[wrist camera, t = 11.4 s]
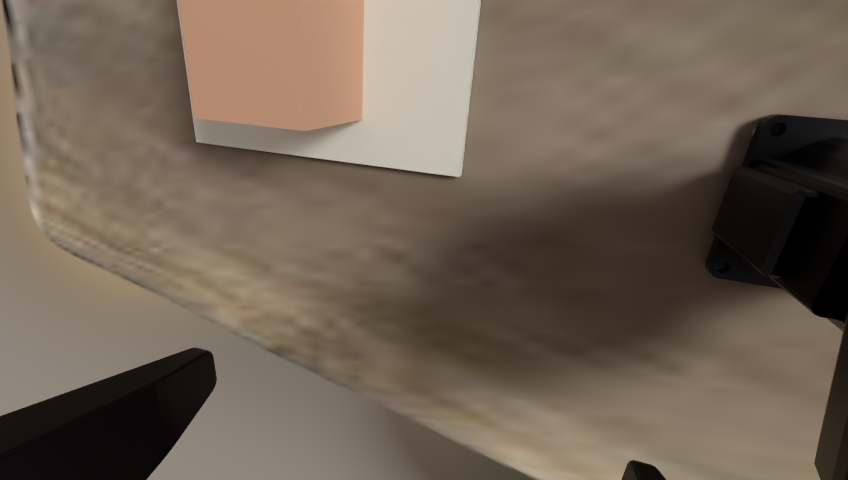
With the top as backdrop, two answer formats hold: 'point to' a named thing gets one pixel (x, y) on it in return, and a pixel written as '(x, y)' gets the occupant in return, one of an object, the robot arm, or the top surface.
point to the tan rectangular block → (275, 61)
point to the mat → (390, 94)
